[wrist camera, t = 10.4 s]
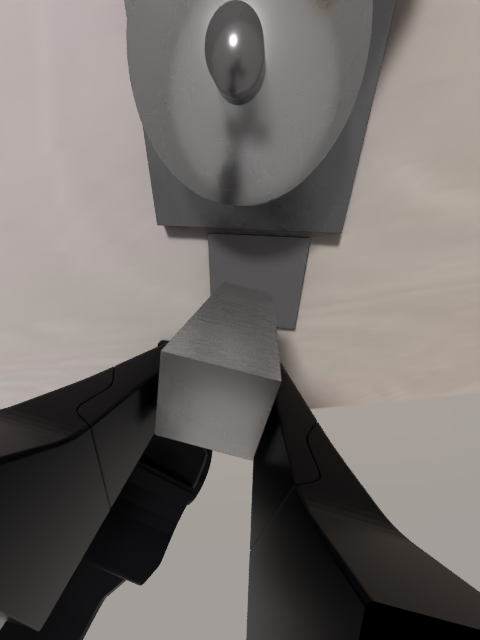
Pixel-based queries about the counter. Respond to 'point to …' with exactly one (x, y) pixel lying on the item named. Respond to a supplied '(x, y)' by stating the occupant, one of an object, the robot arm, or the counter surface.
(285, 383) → the robot arm
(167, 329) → the counter surface
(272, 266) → the mat
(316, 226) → the base plate
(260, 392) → the gray rectangular block
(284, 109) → the oval metal lid
